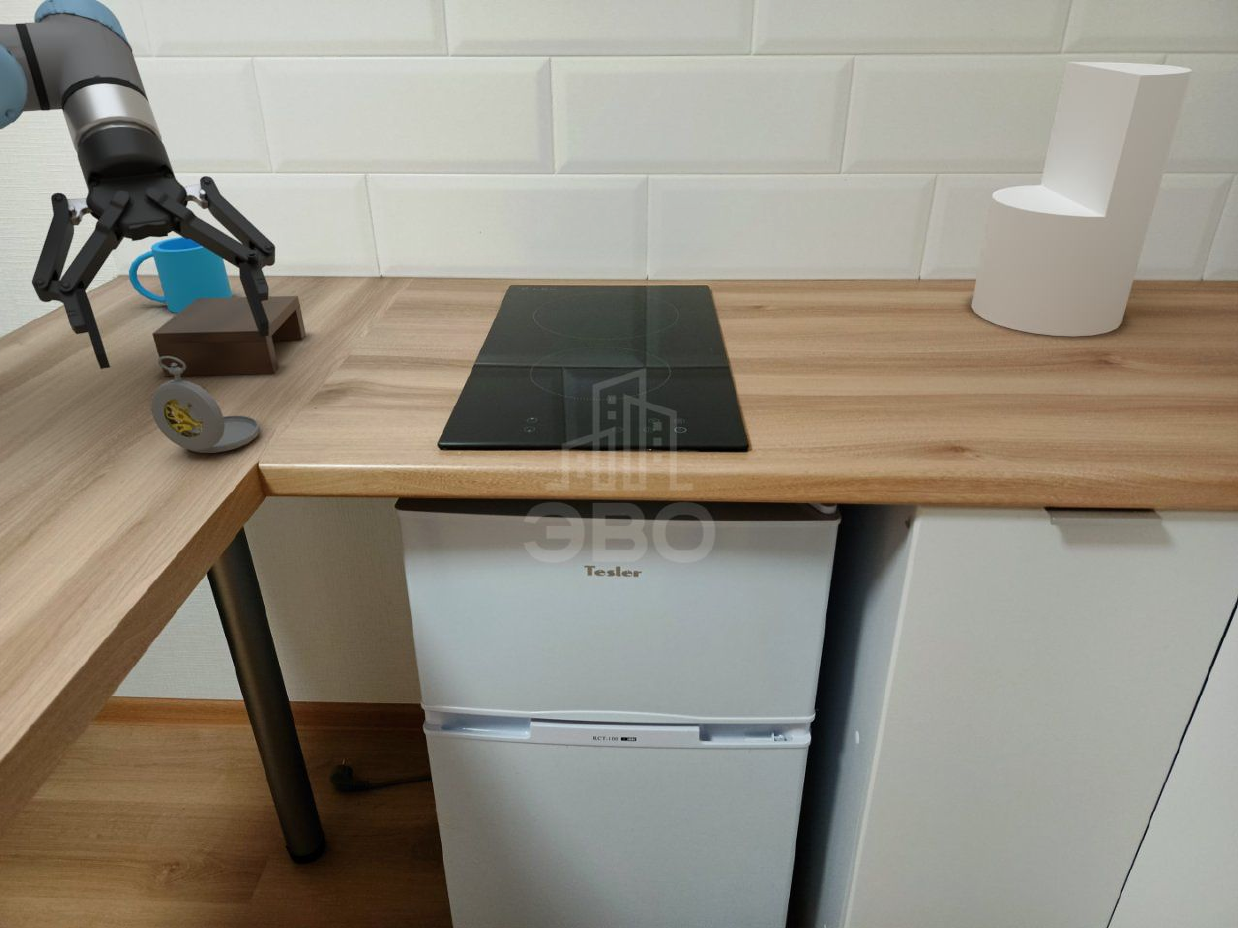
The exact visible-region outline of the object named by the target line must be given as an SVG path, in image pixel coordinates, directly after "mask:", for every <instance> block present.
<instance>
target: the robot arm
mask: <svg viewBox="0 0 1238 928" xmlns="http://www.w3.org/2000/svg"><path fill="white" fill-rule="evenodd" d="M33 18H34V19H33V20H34V22H24V23H23V22H21V23H15V24H14V23H13V24H12V23H11V24H10V23H5V24H4V23H0V130H3V129H5V128H6V127H8V126H9V125H10V124H14V123H15V122H17V120H18V119H19V118H20V117H21V115H22V114H23V113H24V112H37V111H42V112H43V111H44V112H45V111H46V112H47V111H55V110H56V111H57V110H61V111H62V113H63V117H64V120H65V123H66V126H67V129H68V133H69V136H70V138H71V142H72V145H73V148H74V150H75V151H76V154H77V160H78V163H79V166H80V169H81V172H82V175H83V178H84V182H85V184H86V188H87V191H88V192H87V194H86V195H87V196H86V197H84V198H67V196H66V195H65V193H62V192H55V193H53V194H52V195H51V197H50V200H51V207H52V214H53V215H52V219H51V222H50V224H49V227H48V230H47V234H46V236H45V239H44V243H43V246H42V249H41V251H40V255H39V258H38V261H37V264H36V266H35V269H34V272H33V276H32V279H31V285H32V287H33V290H34V291H35V293H36V296H37V297H38V299H39V300H40V301H41V302H43V303H50V302H51V301H57V302H60V303H62V304H63V307H64V310H65V313H66V316H67V320H68V323H69V325H70V327H71V329H72V331H73V332H74V333H75V334H76V335H81V334H86V333H87V334H88V337H89V340H90V342H91V347H92V350H93V353H94V355H95V358H96V361H97V363H98V365H99V368H100V370H103V369H107V368H109V369H110V368H111V365H110V362H109V359H108V356H107V352H106V348H105V346H104V343H103V340H102V336H101V334H100V333H101V332H100V331H99V326H98V324H97V321H96V318H95V315H94V311H93V308H92V305H91V302H90V299H89V297H88V294H87V290H88V288H89V287H90V285H91V284H92V282H93V281H94V279H95V277H96V276H97V275H98V273H99V272H100V271H101V268H102V267H103V265H104V264H105V262H106V261H107V260H108V258H109V257H110V255H111V254H112V252H113V251H115V250H117V249H118V247H119V245H120V244H121V242H123V240H124V238H125V239H129V240H130V239H131V242H135V241H136V242H137V241H142V240H144V239H147V238H164V237H169V234H170V233H172V232H173V233H175V234H176V235H179V237H183V238H185V239H191V240H193V241H194V242H196V243H198V244H199V245H201V246H203V247H204V248H206V249H208V250H209V251H211V252H213V253H214V254H216V255H218V256H219V257H221V258H223V260H224V261H226V262H228V263H229V264H232V266H234V267H236V268H238V272H239V273H238V274H239V281H240V283H241V287H242V290H243V291H244V294H245V297H246V298H247V300H248V303H249V306H250V309H251V312H252V314H253V317H254V320H255V323H256V326H257V328H258V331H259V334H260V337H264V336H269V322H268V319H267V316H266V313H265V310H264V308H263V305H262V302H261V301H265V300H268V297H270V296H269V295H270V294H269V289H270V287H269V285H268V282H267V280H266V276H265V274H264V272H263V269H264V267H272V266H273V265H275V263H276V245H275V244H274V243H273V242H272V241H271V240H270V239H269V238H268V237H267V236H266V235H264V233H262V232H261V231H260V229H258V228H257V227H256V226H255V225H254V224H253V223H252V222H250V220H249V219H248V218H247V217H246V216H244V214H242V213H241V212H240V211H239V210H238V209H237V208H236V207H235V206H233V204H231V203H230V201H229V200H227V199H226V198H225V197H224V196H223V195H222V194H221V192H220V190H219V188H218V186H217V185H216V183H215V181H214V179H213V178H212V177H211V176H207V175H205V176H201V178H200V180H199V183H196V184H191V185H187V186H184V185H182V184H181V183H180V182H179V180H178V179H177V178H176V175H175V173H174V169H173V166H172V164H171V161H170V157H169V155H168V152H167V149H166V146H165V144H164V143H163V139H162V134H161V131H160V129H159V126H158V123H157V120H156V118H155V115H154V112H153V109H152V107H151V104H150V101H149V99H148V96H147V92H146V89H145V87H144V83H143V80H142V77H141V74H140V71H139V69H138V66H137V63H136V59H135V57H134V53H133V47H132V46H131V44H130V43H129V41H128V39H127V36H126V34H125V32H124V30H123V27H122V25H121V23H120V21H119V18H118V17H117V16H116V14H115V13H114V12H113V11H112V10H111V9H110V8H109V7H107V6H106V5H105V4H103V3H102V2H101V1H98V0H44V1H43V2H41V3H40V5H39V6H38V7H37V9H36V10H35V12H34V17H33ZM189 202H194V203H196V204H197V205H198V206H199V207H201V209H202V210H208V212H209V213H210V214H211V216H212V217H213V218H214V219H215V220H216V221H217V222H218V223H219V224H220V225H222V226H223V227H224V228H225V229H226V230H227V231H228V232H229V233H230V234H231V235H232V236H233V237H231V236H230V235H229V234H226V232H223V231H222V230H220V229H218V228H217V227H215V226H214V225H212V224H210V223H209V222H207V221H205V220H203V219H202V218H200V217H198V216H197V215H196V214H195V213H194V211H192V210H191V208H188V204H189ZM87 214H90V216H92V217H93V218H94V219H95V220H97V221H96V223H95V226H94V227H95V228H94V230H93V231H92V233H91V234H90V236H89V237H88V239H87V240H86V241H85V243H84V245H83V246H82V247H81V249H80V250H79V251H78V253H77V255H76V256H75V257H74V259H73V260H72V262H71V263H70V265H69V266H68V267H67V269H66V271H65V272H64V273H63V271H64V267H65V264H66V261H67V258H68V255H69V252H70V249H71V245H72V243H73V240H74V239H73V238H74V235H75V226H79V225H80V224H81V223H82V221H83V217H84V216H85V215H87ZM236 239H237V240H236ZM62 274H63V275H62Z"/></svg>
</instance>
